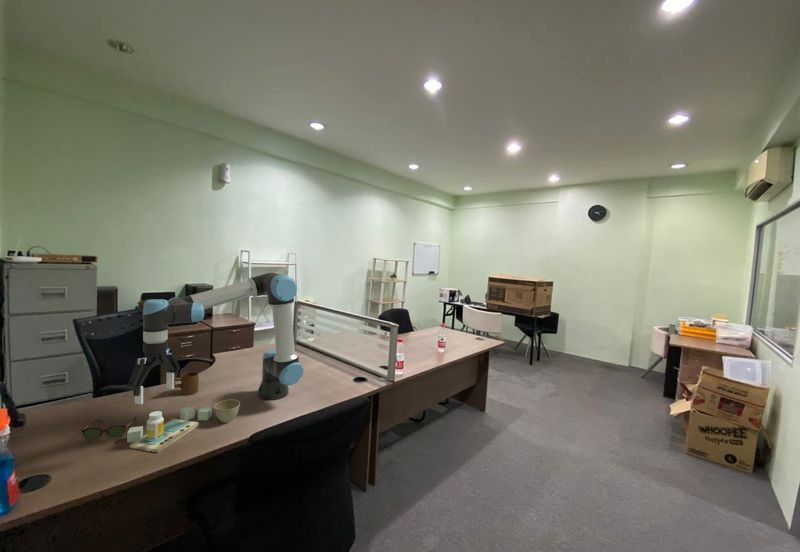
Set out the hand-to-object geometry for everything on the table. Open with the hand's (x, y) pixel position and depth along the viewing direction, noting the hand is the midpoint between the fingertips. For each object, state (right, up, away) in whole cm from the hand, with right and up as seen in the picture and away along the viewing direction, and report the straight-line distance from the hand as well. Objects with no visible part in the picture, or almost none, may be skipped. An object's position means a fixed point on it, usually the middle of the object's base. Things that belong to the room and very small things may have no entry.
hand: (155, 395), depth 128 cm
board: (0, -18, +6) cm, 19 cm away
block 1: (-9, -18, +2) cm, 20 cm away
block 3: (+7, -17, +21) cm, 28 cm away
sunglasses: (-23, -17, +8) cm, 29 cm away
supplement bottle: (-1, -17, +2) cm, 17 cm away
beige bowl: (+17, -18, +20) cm, 32 cm away
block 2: (0, -17, +20) cm, 26 cm away
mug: (-16, -14, +42) cm, 47 cm away
